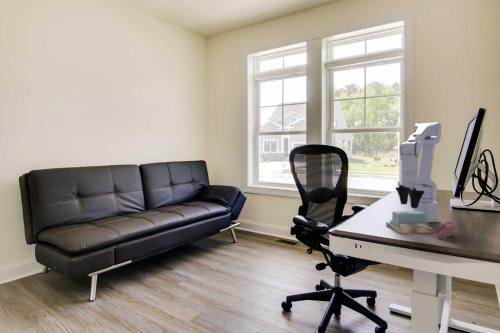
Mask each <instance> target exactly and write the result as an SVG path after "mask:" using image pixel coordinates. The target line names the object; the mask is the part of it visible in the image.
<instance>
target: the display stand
mask: <svg viewBox="0 0 500 333" xmlns="http://www.w3.org/2000/svg"><path fill="white" fill-rule="evenodd" d="M385 223H386V224H385V226H386V227H388V229H391V230H393V231H395V232H397V233H399V234H424V233H425V234H427V233H429V234H430V233H434V228H433V227H430V226H429V225H430V224H429V222H425V223H422V224H399V227H398V226H396V225H394V224H392V218H390V219H389V221H386V222H385Z"/></svg>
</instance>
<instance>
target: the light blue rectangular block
mask: <svg viewBox="0 0 500 333" xmlns="http://www.w3.org/2000/svg"><path fill="white" fill-rule="evenodd" d="M391 213H392V218H391V219H392V224H394V225H396V226H398V227H399V224H422V223H427V222H426V213H423V212H420V211H412V210H411V211H410V210H407V211H405V210H404V211H392V212H391Z"/></svg>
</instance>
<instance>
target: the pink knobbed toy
mask: <svg viewBox="0 0 500 333" xmlns="http://www.w3.org/2000/svg"><path fill="white" fill-rule="evenodd" d="M456 229H457V227H456V223H455V221H453V220H447V221H445V222H444V223H443V224H441V225H438V226H437V227H436V229H435V232H436V238H438V239H441V240H442V239H446V238H447V239H449V238H450V237H451V236H452V235H453V234H456V233H457V230H456Z"/></svg>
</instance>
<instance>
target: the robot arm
mask: <svg viewBox="0 0 500 333" xmlns="http://www.w3.org/2000/svg"><path fill="white" fill-rule="evenodd" d="M441 137H442V125H441V123H440V122H439V121H437V122H424V123H423V122H422V123H419V122H418V123H415V125H414V127H413V133H412V134H411V135H410V136H409V137H408V138H407V140H405V142H402V143H400V145H399V155H400V156H399V157H400V159H399V160H400V161H401V180H400V181H399V180H398V181H397V186H396V187H395V190H396V191H397V194H398V197H399V201H400V204H401V205H408V201H409V200H410V208H411V209H412V210H413V211H420V212H423V213H426V222H425V223H441V220H440V205H439V203H438V202H437V201H436V200H437V197H438V189H437V188H438V186H437V183H436V182H435V181H433V180H432V178H431V177H432V169H433V160H434V154H435V153H434V152H435V147H436V144H439V143H440V142H441V139H442V138H441ZM419 156H420V163H419Z"/></svg>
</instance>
